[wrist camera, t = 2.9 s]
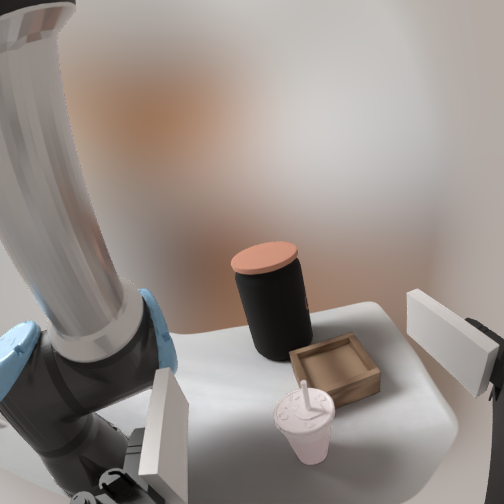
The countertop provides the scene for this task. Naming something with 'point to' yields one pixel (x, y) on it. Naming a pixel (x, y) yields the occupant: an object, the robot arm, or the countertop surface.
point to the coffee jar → (273, 298)
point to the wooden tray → (337, 369)
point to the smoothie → (306, 422)
